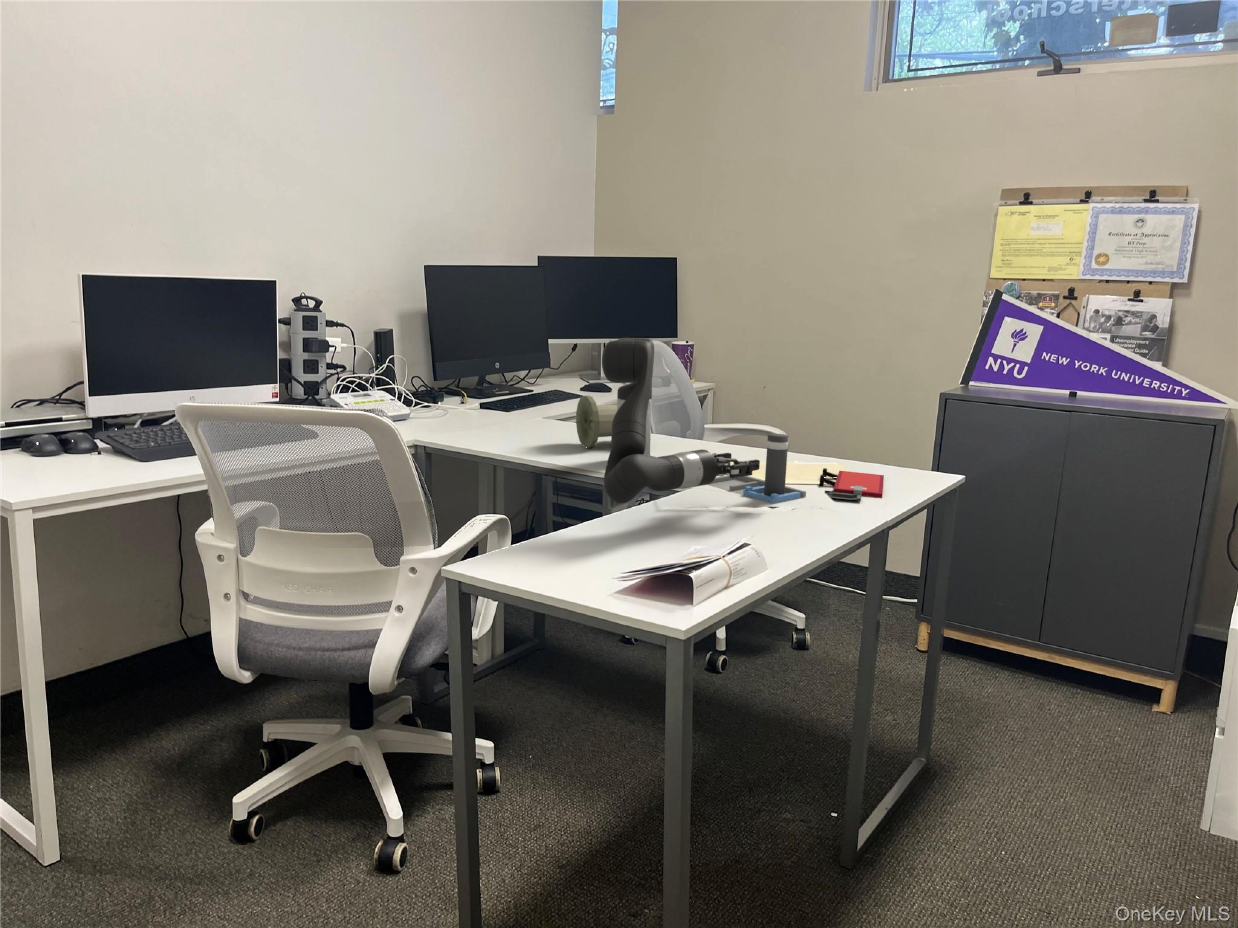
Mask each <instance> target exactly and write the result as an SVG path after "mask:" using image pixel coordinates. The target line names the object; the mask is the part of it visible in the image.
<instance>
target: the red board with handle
mask: <svg viewBox="0 0 1238 928" xmlns="http://www.w3.org/2000/svg"><path fill="white" fill-rule="evenodd" d="M884 476H885V475H884V474H876V473H866V472H865V473H864V472H855V471H846V470H845V471H844V470H839V471H838V474H835V473H833V472H829V471H828V468H826V467H825V468H823V469H822V474H820V477H819V487H824V486H823V485H825V484H827V485H829V486H832V487H833V490H824V494H825V495H827V496H828V498H834V499H844V500H849V501H850V500H852V501H861V500H862V497H871V498H883V494H884V478H885V477H884ZM824 477H826V478H824ZM827 477H828V478H827ZM831 477H837V480H836V479H835V481H834V480H830V479H829V478H831Z"/></svg>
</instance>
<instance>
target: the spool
mask: <svg viewBox="0 0 1238 928" xmlns="http://www.w3.org/2000/svg"><path fill="white" fill-rule="evenodd" d="M576 405H577V406H576V412H575V425H576V432H577V436H578V439H579V440H578V441H579V442H580V445H581V446H582V445H584V446H585V447H587V448H586V449H592V448H594V447H595V446H596V445H597V442H598V440H599V438H604V437H605V438H608V437H610V438H611V436H612V422H613V419H614V416H615V414H616V412H617V404H607V405H597V402H596V400H595V399H594V397H593V396H591V395H588V394H587V395H586V394H585V395H582V396H581V397H579V400H578V402H577V404H576ZM585 447H584V448H585ZM591 447H592V448H591Z"/></svg>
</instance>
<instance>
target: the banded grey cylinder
mask: <svg viewBox="0 0 1238 928" xmlns="http://www.w3.org/2000/svg"><path fill="white" fill-rule="evenodd" d="M788 450H789V435H788V434H784V433H768V434H767V441H766V458H765V459H766V460H765V472H764V474H765V475H764V480H765V487H764V495H766V496H770V497H771V494H774V493H775V494H779V495H782V494H785V486H786V479H787V478H786V477H787V476H786V475H787V466H788V465H787V464H788Z"/></svg>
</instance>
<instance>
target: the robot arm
mask: <svg viewBox="0 0 1238 928" xmlns="http://www.w3.org/2000/svg"><path fill="white" fill-rule="evenodd" d="M654 362H655V345H654V341H653V340H652V339H651V338H645V337H620V338H618V339H616V340H610V341H608V342H607V343H606V344H605V346H604V348H603V351H602V357H601V367H602V372H603V375H604V377H605V379H606V380H607V381H609V382H611V383H615V384H616V383H617V384H622V383H623V384H624V383H625V384H624V385H622V386H619V387H618V388H617V393H616V394H617V397H616V398H617V400H616V401H617V402H616V403H617V404H616V405H617V412H616V414H615V416H614V419H613V422H612V436H610V439H611V441H610V443H611V444H610V445H611V446H610V450H609V451H610V452H609V455H608V457H607V458H608V459H607V463H606V465H605V470H604V476H603V486H604V490H605V492H606V494H607V497H609V499H610V500H612V501H614V503H618V504H626V503H629V502H631V501H632V500H633V499H634V498H635V497H637V496H638V495H639V494H640V493H641V492H642V491H643V490H644V489H645V488H646V487H648V488H649V490H651V491H654V492H665V491H672V490H680V489H681V490H682V489H690V488H696V487H702V486H709V485H708V484H710V483H712V482H713V481H714V479H715V478H716V477H721V476H727V475H730V476H729V477H730V478H736V477H743V476H750V477H751V476H753V472H754V471H758V470H759V469H760V467H761V466H760V462H761V461H760V460H759V459H751V460H750V459H749V460H738V458H732V453H731V452H724V453H715V452H713V453H712V452H710V451H709V450H707V449H696V450H689V451H683V452H676V453H674V454H668V455H663V456H654V455H651V434H652V433H651V432H652V406H653V404H652V403H653V402H652V401H653V374H654V373H653V372H654ZM731 463H733V464H731Z"/></svg>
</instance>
